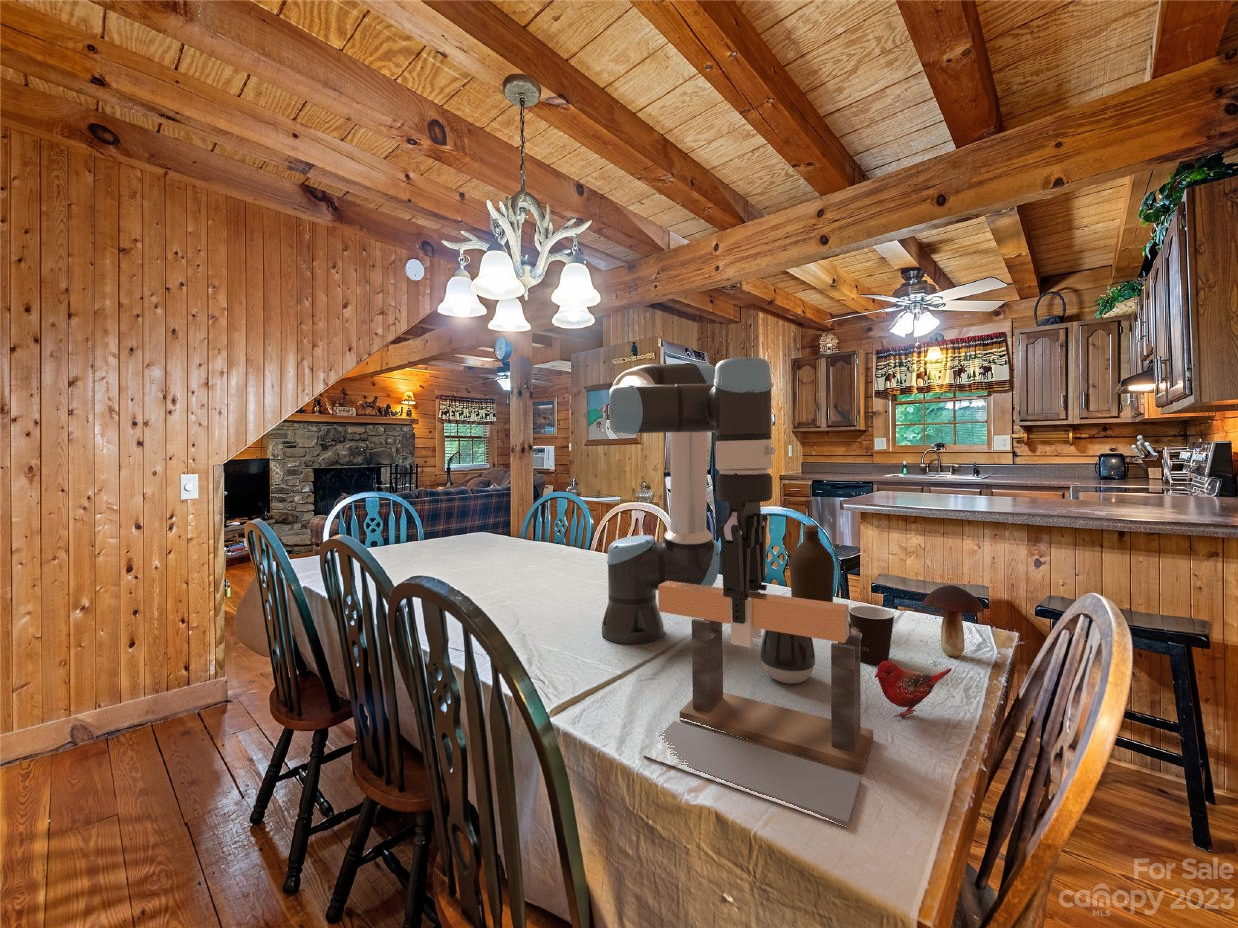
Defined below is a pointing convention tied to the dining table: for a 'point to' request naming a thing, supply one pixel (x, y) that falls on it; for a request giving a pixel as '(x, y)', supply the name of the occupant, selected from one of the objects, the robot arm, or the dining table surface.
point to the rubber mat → (766, 771)
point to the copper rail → (759, 610)
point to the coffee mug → (872, 632)
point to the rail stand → (778, 725)
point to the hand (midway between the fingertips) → (746, 640)
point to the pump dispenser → (787, 656)
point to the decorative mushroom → (953, 615)
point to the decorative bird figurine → (905, 685)
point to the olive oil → (812, 568)
